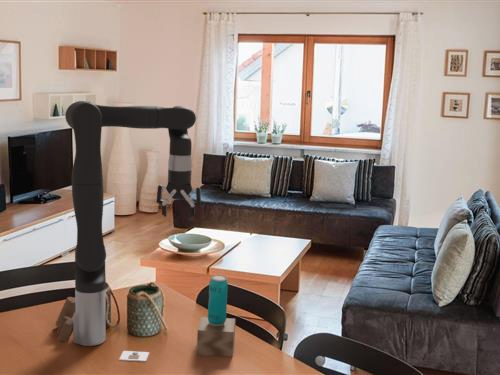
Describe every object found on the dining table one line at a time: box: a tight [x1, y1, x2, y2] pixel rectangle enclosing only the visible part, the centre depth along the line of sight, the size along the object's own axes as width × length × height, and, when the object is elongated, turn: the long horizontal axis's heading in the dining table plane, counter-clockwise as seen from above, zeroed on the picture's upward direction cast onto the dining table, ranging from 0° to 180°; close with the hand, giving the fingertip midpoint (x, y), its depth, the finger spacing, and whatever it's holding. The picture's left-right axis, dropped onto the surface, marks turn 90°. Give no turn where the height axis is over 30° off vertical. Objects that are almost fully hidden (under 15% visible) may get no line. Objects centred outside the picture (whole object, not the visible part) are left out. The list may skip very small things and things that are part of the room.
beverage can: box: [207, 274, 229, 326], centre depth 207 cm, size 6×6×15 cm
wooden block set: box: [55, 296, 75, 343], centre depth 216 cm, size 18×9×10 cm, turn 179°
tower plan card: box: [118, 350, 150, 363], centre depth 201 cm, size 8×6×1 cm
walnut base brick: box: [196, 316, 236, 358], centre depth 208 cm, size 11×11×8 cm
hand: (178, 217), depth 218 cm, fingers open, 8 cm apart
